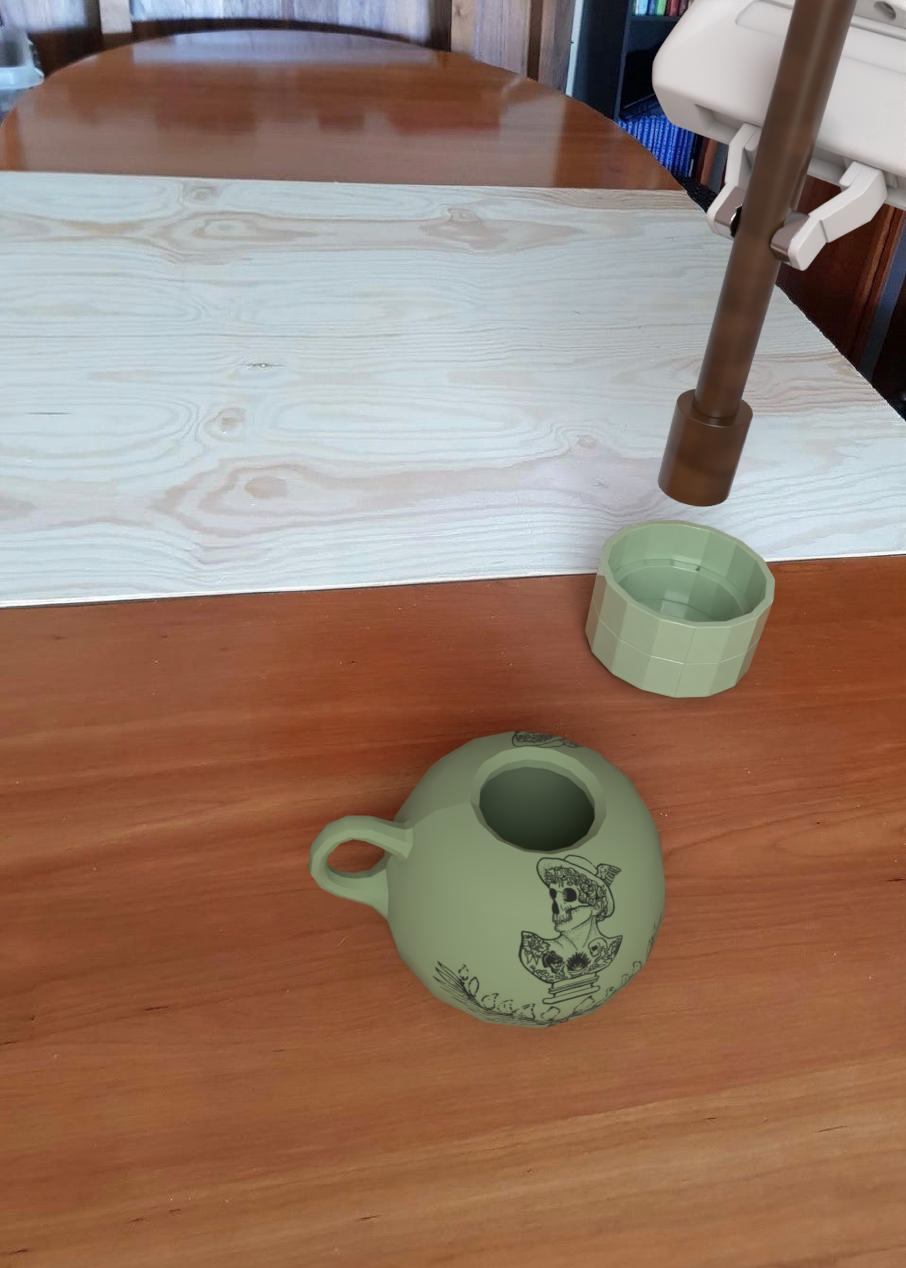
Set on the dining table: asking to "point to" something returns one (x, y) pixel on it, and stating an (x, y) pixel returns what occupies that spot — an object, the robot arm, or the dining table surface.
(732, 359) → the wooden pestle
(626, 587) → the bowl
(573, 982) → the mug
